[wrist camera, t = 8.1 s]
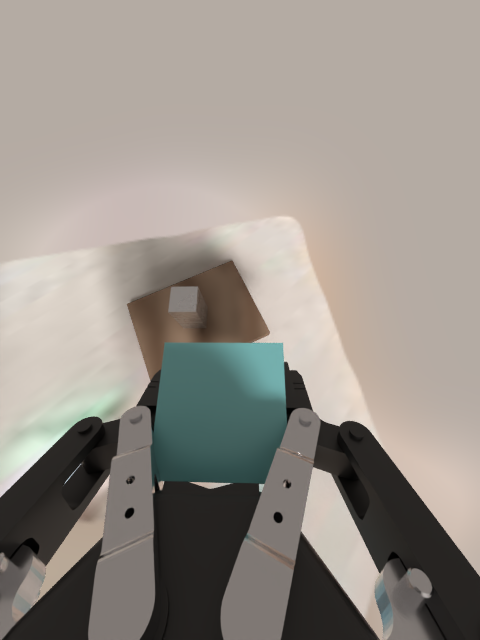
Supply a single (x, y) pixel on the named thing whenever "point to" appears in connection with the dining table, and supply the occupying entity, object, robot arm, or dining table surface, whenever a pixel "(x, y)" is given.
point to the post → (188, 307)
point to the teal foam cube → (219, 411)
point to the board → (222, 315)
